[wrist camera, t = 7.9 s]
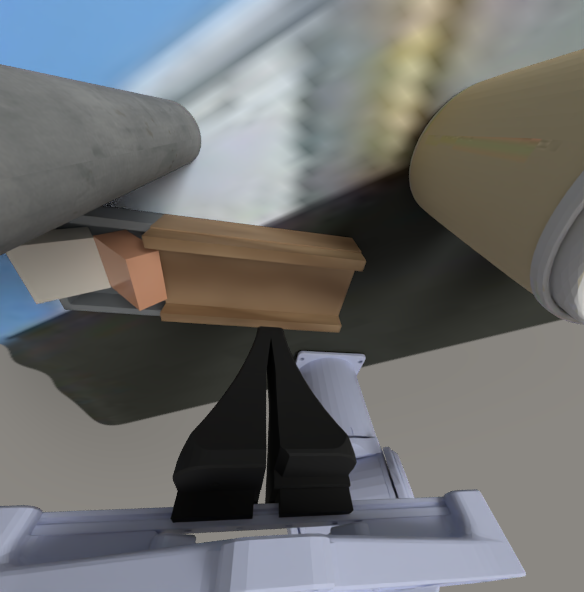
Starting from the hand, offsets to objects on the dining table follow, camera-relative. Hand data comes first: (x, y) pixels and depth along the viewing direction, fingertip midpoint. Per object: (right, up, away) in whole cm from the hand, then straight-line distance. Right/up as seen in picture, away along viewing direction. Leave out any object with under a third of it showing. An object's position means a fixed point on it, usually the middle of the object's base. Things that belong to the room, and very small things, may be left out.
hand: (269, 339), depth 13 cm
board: (-1, +5, +6) cm, 8 cm away
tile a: (-9, +5, +4) cm, 11 cm away
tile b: (-14, +4, +2) cm, 14 cm away
